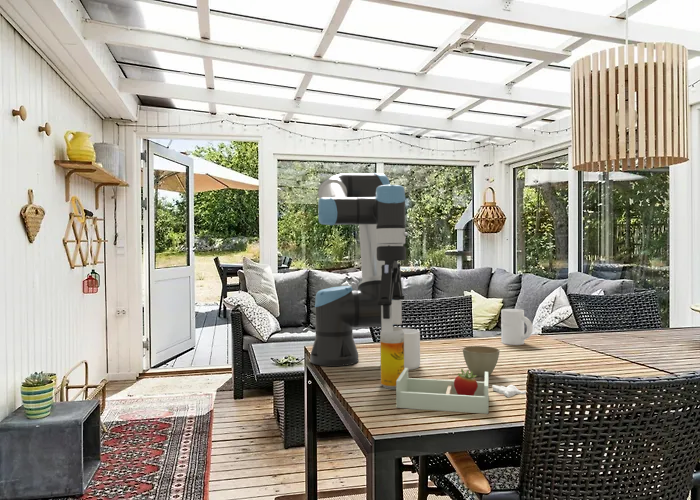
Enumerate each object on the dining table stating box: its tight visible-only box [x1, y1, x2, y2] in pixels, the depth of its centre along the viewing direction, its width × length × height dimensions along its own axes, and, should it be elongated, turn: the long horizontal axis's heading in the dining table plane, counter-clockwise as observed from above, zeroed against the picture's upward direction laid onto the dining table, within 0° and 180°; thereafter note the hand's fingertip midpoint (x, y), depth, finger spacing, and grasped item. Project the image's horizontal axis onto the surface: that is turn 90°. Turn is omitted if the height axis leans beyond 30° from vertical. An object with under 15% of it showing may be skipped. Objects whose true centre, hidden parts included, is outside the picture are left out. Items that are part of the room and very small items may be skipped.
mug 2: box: [500, 308, 534, 346], centre depth 193 cm, size 8×12×12 cm
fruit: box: [454, 368, 478, 396], centre depth 122 cm, size 5×5×8 cm
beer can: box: [379, 326, 404, 390], centre depth 138 cm, size 6×6×15 cm
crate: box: [395, 368, 490, 415], centre depth 123 cm, size 20×13×6 cm, turn 75°
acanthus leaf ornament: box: [491, 384, 527, 398], centre depth 131 cm, size 8×7×2 cm
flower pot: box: [462, 345, 501, 378], centre depth 149 cm, size 10×10×7 cm
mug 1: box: [402, 328, 421, 371], centre depth 158 cm, size 9×12×11 cm
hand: (392, 328), depth 137 cm, fingers open, 13 cm apart
